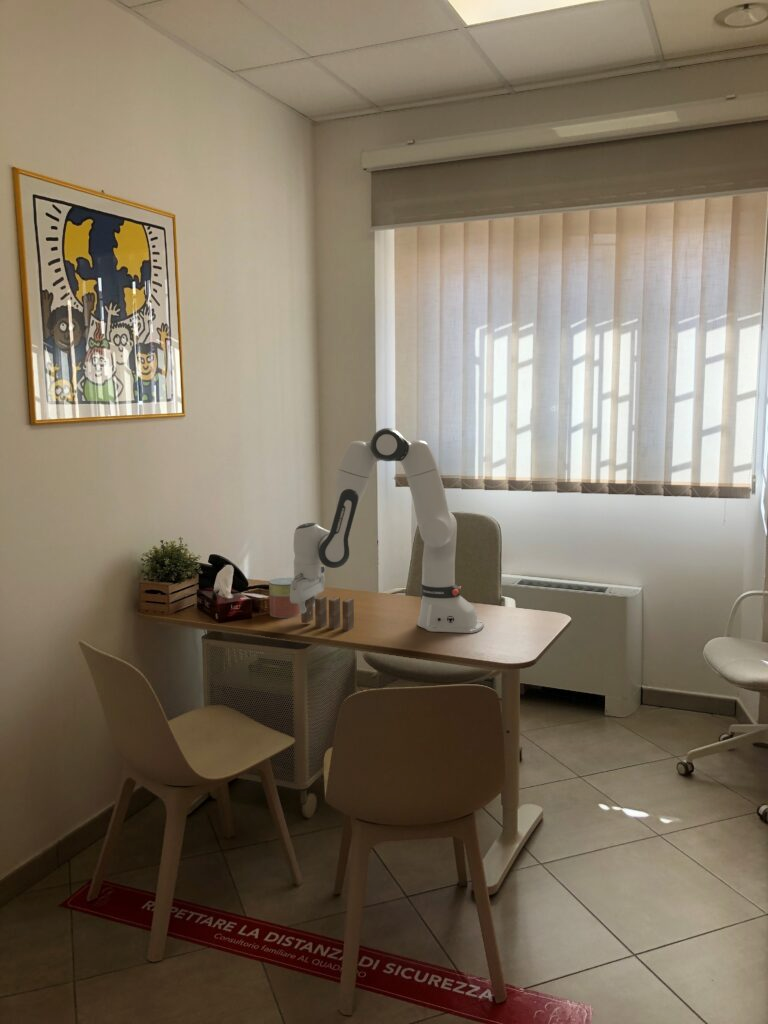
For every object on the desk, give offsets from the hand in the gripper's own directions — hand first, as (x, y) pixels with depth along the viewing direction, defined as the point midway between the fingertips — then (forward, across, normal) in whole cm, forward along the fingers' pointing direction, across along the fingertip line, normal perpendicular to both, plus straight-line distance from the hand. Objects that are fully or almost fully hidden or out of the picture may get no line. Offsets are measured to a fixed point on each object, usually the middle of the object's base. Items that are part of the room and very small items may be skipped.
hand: (307, 610), depth 293 cm
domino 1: (+4, 0, 0) cm, 4 cm away
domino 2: (+5, 0, -5) cm, 7 cm away
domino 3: (+5, 0, -10) cm, 11 cm away
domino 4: (+5, 0, -15) cm, 16 cm away
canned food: (+5, +11, +14) cm, 18 cm away
